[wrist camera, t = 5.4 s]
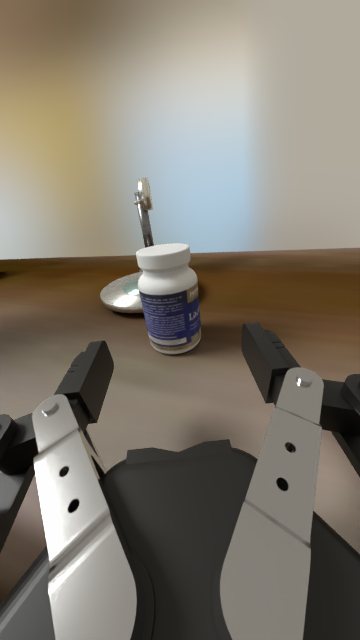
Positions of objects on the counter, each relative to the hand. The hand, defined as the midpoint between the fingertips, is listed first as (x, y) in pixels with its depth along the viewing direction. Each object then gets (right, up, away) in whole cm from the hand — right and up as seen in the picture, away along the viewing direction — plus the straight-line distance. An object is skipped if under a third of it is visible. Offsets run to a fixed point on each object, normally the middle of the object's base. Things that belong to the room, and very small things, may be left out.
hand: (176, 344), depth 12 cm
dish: (-5, +6, +22) cm, 23 cm away
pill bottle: (0, -1, +11) cm, 11 cm away
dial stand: (-5, +11, +31) cm, 33 cm away
